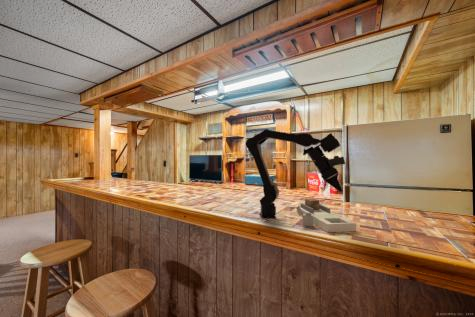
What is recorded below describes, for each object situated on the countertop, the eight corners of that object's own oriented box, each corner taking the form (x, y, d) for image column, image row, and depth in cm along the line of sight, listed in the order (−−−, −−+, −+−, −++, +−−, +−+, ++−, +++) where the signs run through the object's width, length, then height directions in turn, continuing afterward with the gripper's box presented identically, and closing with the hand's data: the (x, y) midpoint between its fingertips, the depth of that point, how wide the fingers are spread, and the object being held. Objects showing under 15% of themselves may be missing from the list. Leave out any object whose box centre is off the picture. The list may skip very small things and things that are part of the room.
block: (309, 210, 99) (309, 200, 99) (304, 207, 104) (305, 198, 104) (319, 209, 99) (319, 200, 99) (314, 207, 104) (314, 198, 104)
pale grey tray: (327, 232, 77) (327, 219, 77) (296, 212, 105) (296, 202, 105) (356, 230, 79) (356, 218, 79) (318, 211, 107) (318, 202, 107)
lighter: (313, 225, 85) (313, 206, 85) (313, 226, 84) (313, 207, 84) (295, 223, 88) (295, 204, 88) (295, 224, 86) (295, 205, 86)
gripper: (338, 147, 79) (362, 182, 76) (334, 149, 96) (354, 178, 93) (312, 162, 82) (334, 196, 79) (313, 161, 99) (331, 189, 96)
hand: (339, 189), depth 87 cm, fingers open, 9 cm apart
